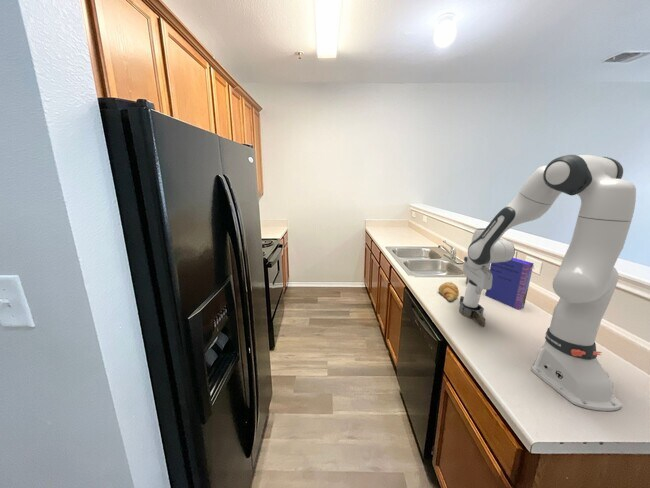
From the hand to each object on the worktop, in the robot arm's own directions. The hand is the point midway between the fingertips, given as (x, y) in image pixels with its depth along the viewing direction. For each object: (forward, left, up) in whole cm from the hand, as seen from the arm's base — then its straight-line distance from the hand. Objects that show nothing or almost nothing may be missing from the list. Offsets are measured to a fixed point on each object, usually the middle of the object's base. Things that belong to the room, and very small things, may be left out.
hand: (474, 290), depth 127 cm
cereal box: (+15, -24, -12) cm, 31 cm away
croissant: (+21, +2, -12) cm, 25 cm away
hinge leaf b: (+3, 0, -12) cm, 12 cm away
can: (+2, 0, -8) cm, 8 cm away
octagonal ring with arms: (-4, 0, -12) cm, 13 cm away
